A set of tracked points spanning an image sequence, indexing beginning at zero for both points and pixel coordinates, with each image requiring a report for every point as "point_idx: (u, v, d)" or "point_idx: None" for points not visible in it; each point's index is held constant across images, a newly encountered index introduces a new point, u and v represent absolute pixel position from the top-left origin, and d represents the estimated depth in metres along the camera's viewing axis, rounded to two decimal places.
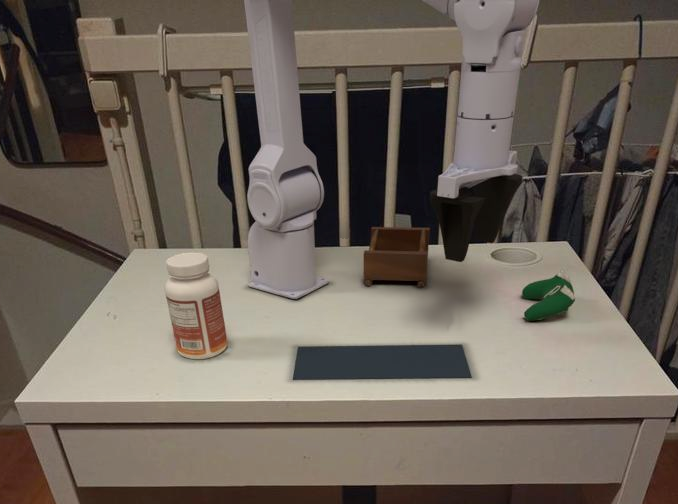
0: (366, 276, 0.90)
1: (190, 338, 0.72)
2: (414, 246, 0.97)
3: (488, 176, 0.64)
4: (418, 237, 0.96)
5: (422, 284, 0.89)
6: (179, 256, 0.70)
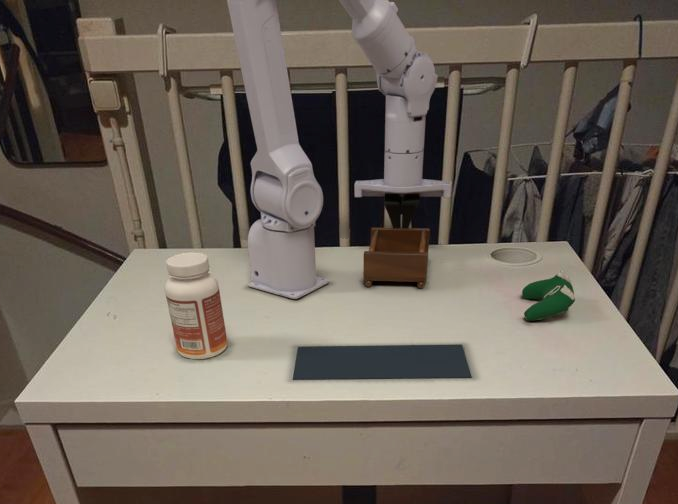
0: (366, 277, 0.90)
1: (190, 338, 0.72)
2: (414, 247, 0.97)
3: None
4: (418, 238, 0.96)
5: (422, 285, 0.89)
6: (179, 256, 0.70)
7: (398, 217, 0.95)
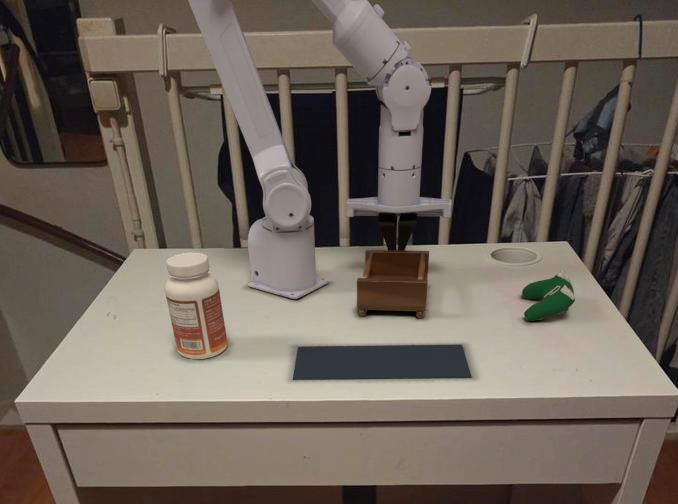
0: (360, 306, 0.82)
1: (190, 338, 0.72)
2: (412, 271, 0.88)
3: None
4: (417, 261, 0.88)
5: (421, 315, 0.81)
6: (179, 256, 0.70)
7: (393, 238, 0.87)
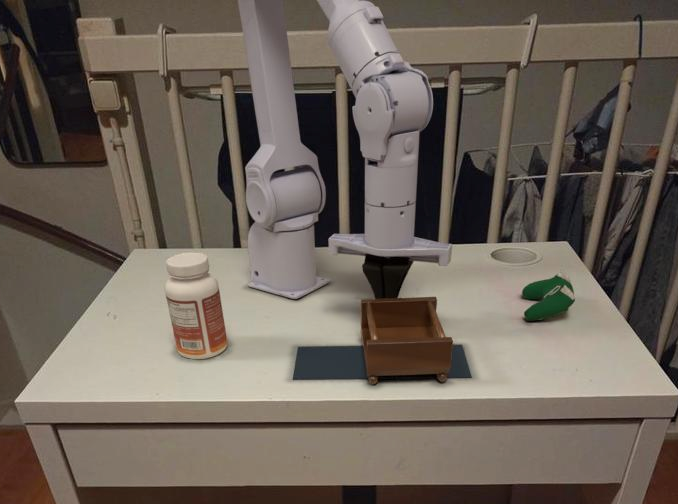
0: (370, 372, 0.67)
1: (190, 338, 0.72)
2: (417, 320, 0.75)
3: (415, 242, 0.73)
4: (422, 309, 0.74)
5: (445, 378, 0.68)
6: (179, 256, 0.70)
7: (380, 284, 0.74)
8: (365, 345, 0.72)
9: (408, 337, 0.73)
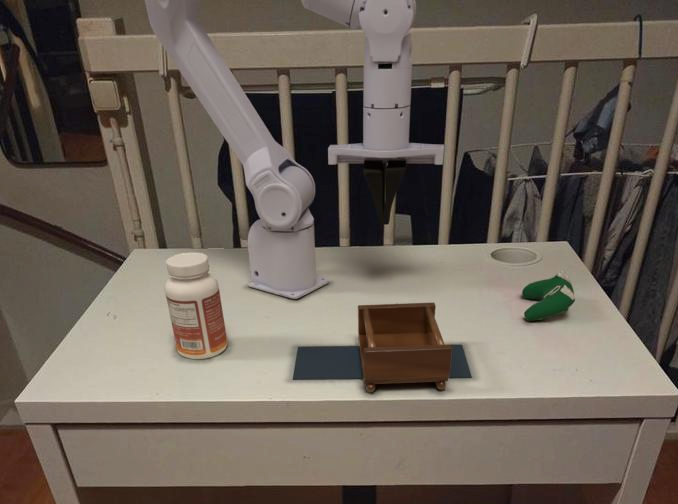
0: (367, 380, 0.66)
1: (190, 338, 0.72)
2: (415, 327, 0.74)
3: None
4: (421, 315, 0.73)
5: (444, 386, 0.66)
6: (179, 256, 0.70)
7: (380, 188, 0.79)
8: (362, 352, 0.70)
9: (406, 344, 0.72)
